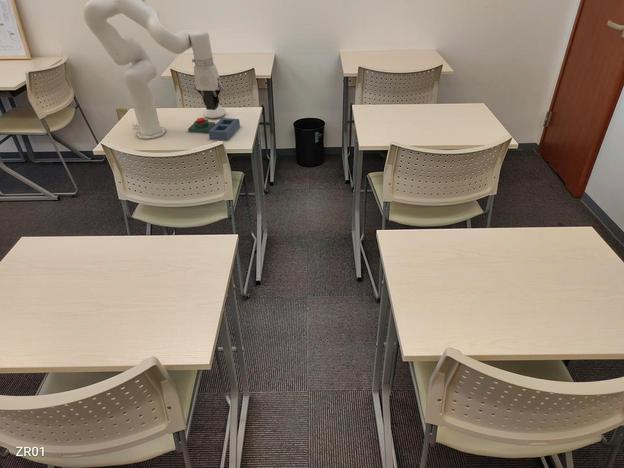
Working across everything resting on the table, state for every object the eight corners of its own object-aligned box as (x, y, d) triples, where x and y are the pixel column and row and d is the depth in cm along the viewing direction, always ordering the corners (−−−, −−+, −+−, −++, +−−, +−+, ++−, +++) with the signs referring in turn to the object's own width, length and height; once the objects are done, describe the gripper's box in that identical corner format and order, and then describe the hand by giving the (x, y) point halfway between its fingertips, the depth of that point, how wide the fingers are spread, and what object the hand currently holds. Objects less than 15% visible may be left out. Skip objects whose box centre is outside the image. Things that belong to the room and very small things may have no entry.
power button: (196, 123, 226) (195, 120, 225) (199, 120, 229) (198, 117, 228) (203, 124, 226) (202, 120, 225) (206, 121, 228) (205, 117, 227)
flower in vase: (206, 111, 247) (197, 62, 232) (228, 111, 246) (220, 61, 231) (200, 122, 236) (190, 70, 221) (223, 121, 235) (215, 70, 221)
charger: (206, 109, 212) (202, 88, 207) (210, 106, 215) (206, 85, 210) (214, 110, 211) (211, 88, 206) (218, 106, 214) (214, 85, 209)
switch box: (188, 132, 227) (187, 125, 225) (196, 124, 234) (195, 117, 232) (208, 133, 225) (206, 126, 223) (215, 125, 232) (214, 118, 230)
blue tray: (209, 139, 219) (208, 131, 217) (223, 125, 231) (221, 117, 229) (227, 140, 217) (226, 132, 215) (240, 126, 229) (239, 118, 227)
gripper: (182, 64, 201) (190, 106, 211) (219, 65, 197) (226, 108, 207) (189, 59, 206) (198, 100, 217) (226, 59, 203) (232, 102, 213)
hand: (211, 104), depth 212 cm, fingers closed on charger, 4 cm apart
